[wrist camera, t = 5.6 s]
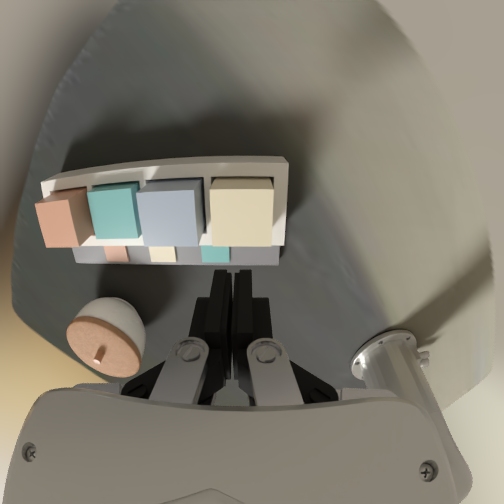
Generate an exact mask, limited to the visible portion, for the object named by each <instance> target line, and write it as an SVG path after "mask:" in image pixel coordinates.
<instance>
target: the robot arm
mask: <svg viewBox="0 0 504 504" xmlns="http://www.w3.org/2000/svg"><path fill="white" fill-rule="evenodd" d="M416 346H417V341H416V339H415V337H414V335H413V334H412V333H411V332H410V331H407V330H393V331H389V332H386V333H383V334H381V335H379V336H377V337H375V338H373V339H372V340H370V341H369V342H367V343H366V344H365V345H363V346H362V347H361V348H360V349H359V350H358V351H357V353H356V354H355V355H354V357H353V359H352V361H351V370H352V373H353V375H354V376H355V377H356V378H358V379H361V380H364V381H365V384H366V387H367V389H355V388H342V390H335V389H334V388H333V387H332V386H331V385H329V384H327V383H326V382H324V381H322V380H321V379H319V378H317V377H316V376H314V375H313V374H311V373H309V372H308V371H306V370H305V369H303V368H301V367H300V366H298V365H297V364H295V363H293V362H292V361H290V360H289V358H288V355H287V352H286V349H285V348H284V346H283V344H281V343H280V342H279V341H277V340H275V339H273V336H272V326H271V316H270V307H269V298H252V271H251V270H240V273H235V280H234V295H233V297H232V274H231V273H227V270H215V271H214V276H213V282H212V287H211V293H210V297H198V298H197V301H196V305H195V310H194V314H193V318H192V323H191V327H190V332H189V336H188V337H186V338H183V339H180V340H178V341H177V342H176V343H175V344H174V345H173V347H172V348H171V351H170V353H169V355H168V357H167V359H166V360H165V361H164V362H162V363H160V364H159V365H157V366H155V367H153V368H152V369H150V370H148V371H146V372H145V373H143V374H141V375H139V376H138V377H136V378H134V379H132V380H130V381H129V382H128V383H126V384H125V385H121V384H120V383H90V384H89V383H82V384H77V385H75V386H74V387H73V388H58V389H53V390H49V391H46V392H44V393H43V394H41V395H40V396H39V397H38V399H37V400H36V401H35V402H34V404H33V406H32V407H31V409H30V411H29V413H28V415H27V417H26V419H25V421H24V424H23V426H22V429H21V431H20V434H19V436H18V439H17V442H16V445H15V449H14V452H13V455H12V459H11V462H10V466H9V470H8V474H7V479H6V484H5V490H4V496H3V503H2V504H459V503H460V502H461V501H462V500H463V499H464V498H465V497H466V496H467V495H468V493H469V491H470V489H471V487H472V475H471V471H470V469H469V467H468V465H467V463H466V462H465V460H464V458H463V456H462V455H461V453H460V451H459V450H458V447H457V446H456V444H455V442H454V440H453V438H452V435H451V433H450V431H449V429H448V426H447V424H446V422H445V420H444V417H443V415H442V412H441V410H440V408H439V406H438V403H437V401H436V399H435V397H434V394H433V392H432V390H431V388H430V386H429V384H428V382H427V379H426V377H425V375H424V373H423V371H422V369H421V368H425V367H428V366H429V359H428V357H429V351H424V352H421V353H419V352H418V351H417V349H416ZM232 354H233V368H234V380H238V381H239V388H240V389H242V390H243V391H244V392H245V393H247V398H248V403H249V406H214V403H215V399H216V392H217V391H218V390H220V389H221V388H223V386H226V379H231V360H232Z"/></svg>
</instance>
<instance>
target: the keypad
mask: <svg viewBox="0 0 504 504" xmlns="http://www.w3.org/2000/svg"><path fill="white" fill-rule="evenodd" d="M288 170H289V163H288V162H287V161H286V159H285V158H284V157H283V156H204V157H184V158H169V159H156V160H145V161H136V162H127V163H118V164H111V165H104V166H97V167H90V168H84V169H78V170H73V171H67V172H62V173H59V174H57V175H55V176H53V177H51V178H48V179H46V180H44V181H42V182H41V186H42V192H43V197H44V198H46V197H47V196H49V195H51V194H52V193H54V192H56V191H58V190H62V189H68V188H75V187H83V186H87V192H88V191H90V190H92V189H93V188H95V187H97V186H98V185H100V184H108V183H117V182H127V181H139V182H140V189H141V188H143V187H144V186H145V185H147V184H148V183H149V182H151V181H152V180H153V179H167V178H186V177H204V193H205V211H206V225H205V228H204V231H203V234H202V237H201V240H200V243H199V245H198V247H144V242H143V236H142V234H141V236H140V237H139V238H135V239H96V236H95V232H94V233H93V234H92V235H91V236H90V237H89V238H88V239H87V240H86V241H85V242H84V243H83V244H82V245H81V246H80V247H72V250H73V253H74V256H75V260H76V263H102V264H160V265H279V250H280V246H284V239H285V224H286V207H287V190H288ZM217 176H270V180H271V183H272V186H273V189H274V198H273V222H272V245H271V247H224V246H214V247H213V246H212V230H211V212H210V191H209V189H210V187H211V185H212V183H213V181H214V179H215V177H217Z"/></svg>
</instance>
